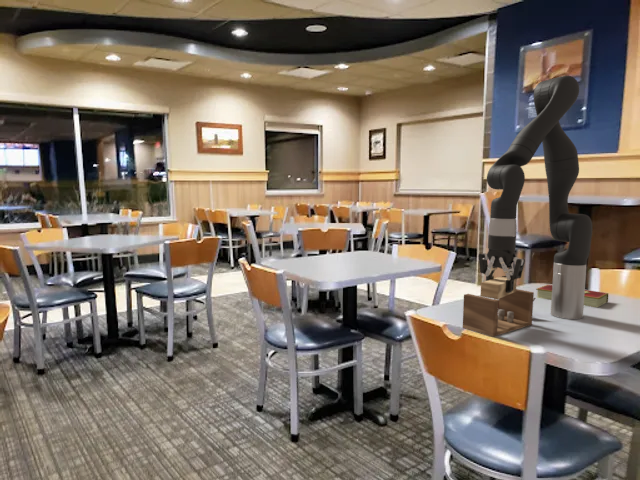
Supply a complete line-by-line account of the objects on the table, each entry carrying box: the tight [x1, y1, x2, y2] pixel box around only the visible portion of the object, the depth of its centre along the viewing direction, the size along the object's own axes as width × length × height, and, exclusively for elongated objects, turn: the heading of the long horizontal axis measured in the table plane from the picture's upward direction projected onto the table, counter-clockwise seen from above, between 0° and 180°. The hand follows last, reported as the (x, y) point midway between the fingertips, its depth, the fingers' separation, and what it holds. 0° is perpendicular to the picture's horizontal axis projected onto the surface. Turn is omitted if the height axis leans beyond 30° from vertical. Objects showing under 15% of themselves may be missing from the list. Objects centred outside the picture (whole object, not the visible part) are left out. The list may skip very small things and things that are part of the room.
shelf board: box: [479, 276, 518, 299], centre depth 132 cm, size 14×5×4 cm, turn 137°
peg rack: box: [462, 288, 535, 338], centre depth 133 cm, size 20×10×10 cm, turn 125°
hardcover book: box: [535, 284, 609, 309], centre depth 166 cm, size 12×21×4 cm, turn 43°
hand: (499, 290), depth 132 cm, fingers closed on shelf board, 5 cm apart
